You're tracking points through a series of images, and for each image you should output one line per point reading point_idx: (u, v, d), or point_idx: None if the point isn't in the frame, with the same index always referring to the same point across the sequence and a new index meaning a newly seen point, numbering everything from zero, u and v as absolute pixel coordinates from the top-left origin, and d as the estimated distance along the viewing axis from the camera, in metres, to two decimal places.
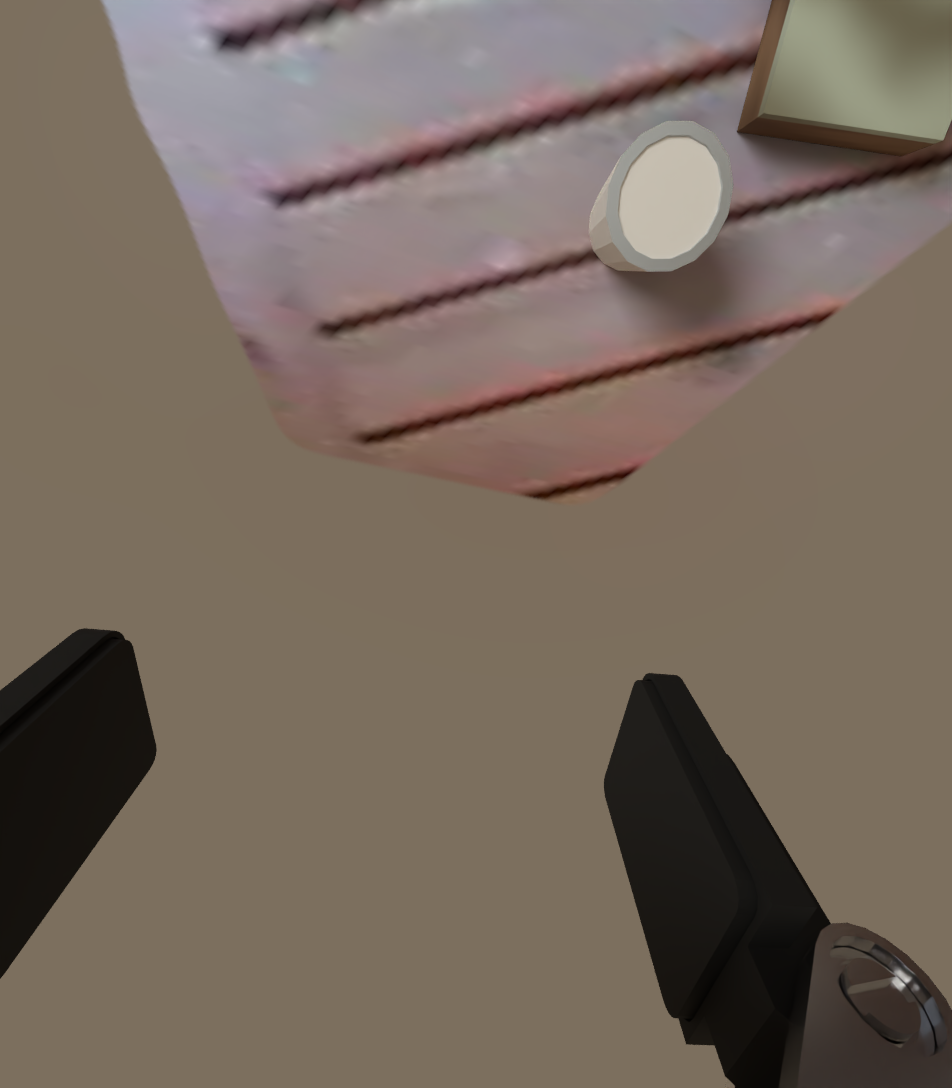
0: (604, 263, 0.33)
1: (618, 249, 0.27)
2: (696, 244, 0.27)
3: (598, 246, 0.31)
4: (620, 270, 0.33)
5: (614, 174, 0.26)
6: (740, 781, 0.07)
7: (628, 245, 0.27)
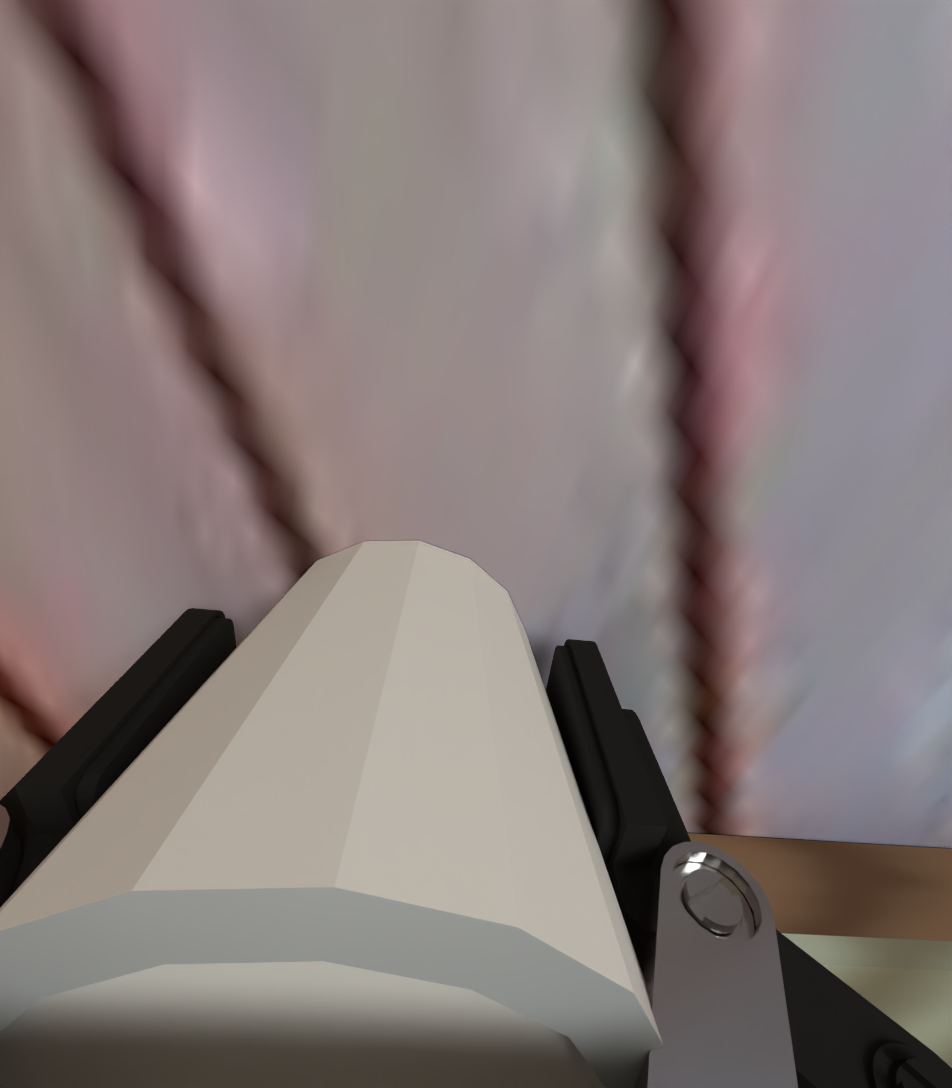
0: None
1: None
2: None
3: (273, 613, 0.08)
4: None
5: (410, 910, 0.03)
6: (627, 727, 0.07)
7: None
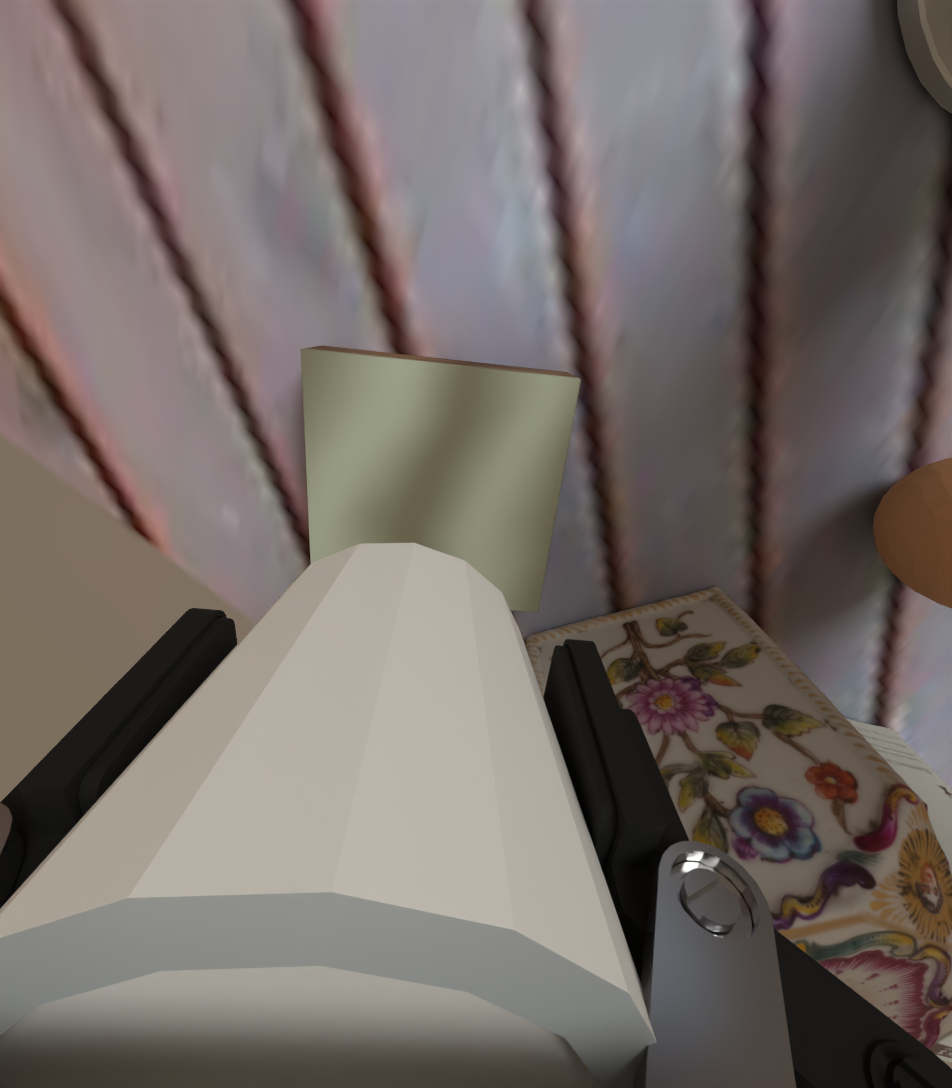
0: None
1: None
2: None
3: (268, 616, 0.08)
4: None
5: (407, 913, 0.03)
6: (625, 727, 0.07)
7: None
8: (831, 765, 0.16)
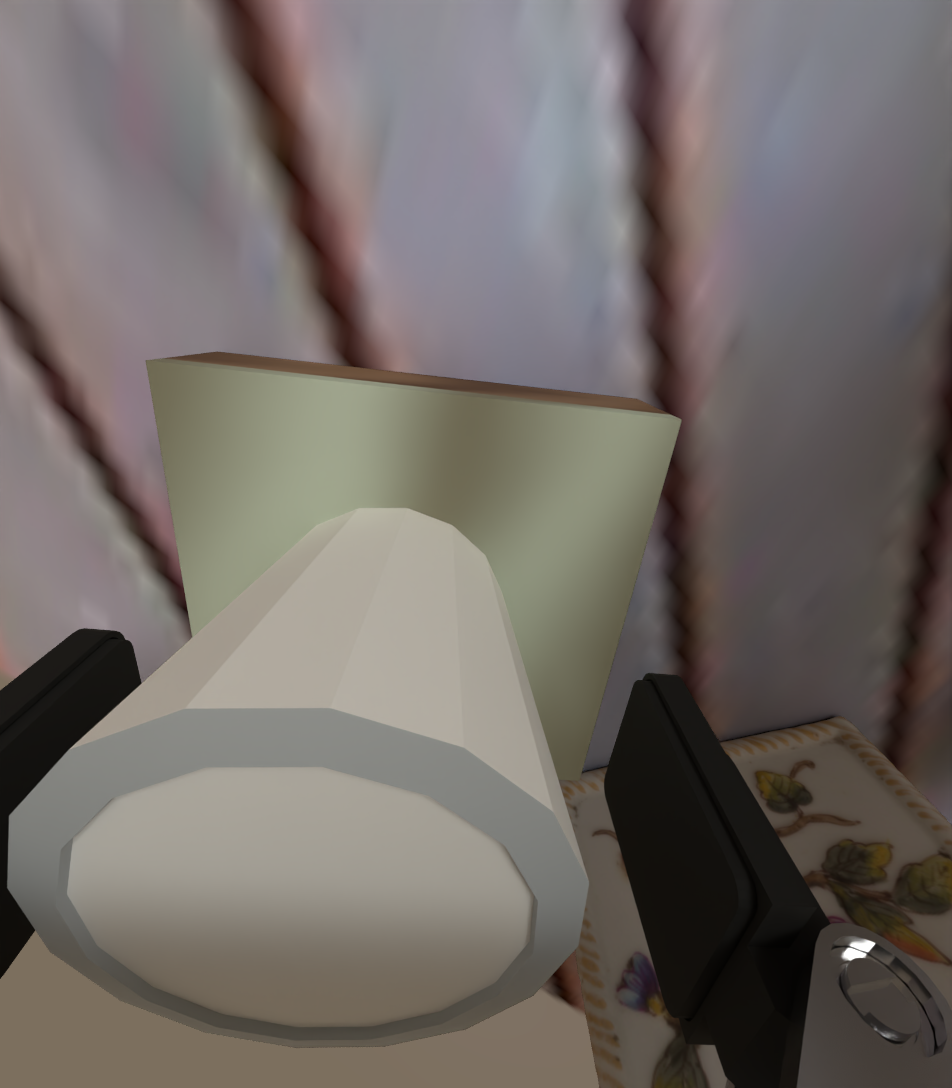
0: None
1: (50, 773, 0.05)
2: (174, 1003, 0.07)
3: (279, 561, 0.09)
4: None
5: (385, 729, 0.05)
6: (740, 781, 0.07)
7: (76, 818, 0.05)
8: None
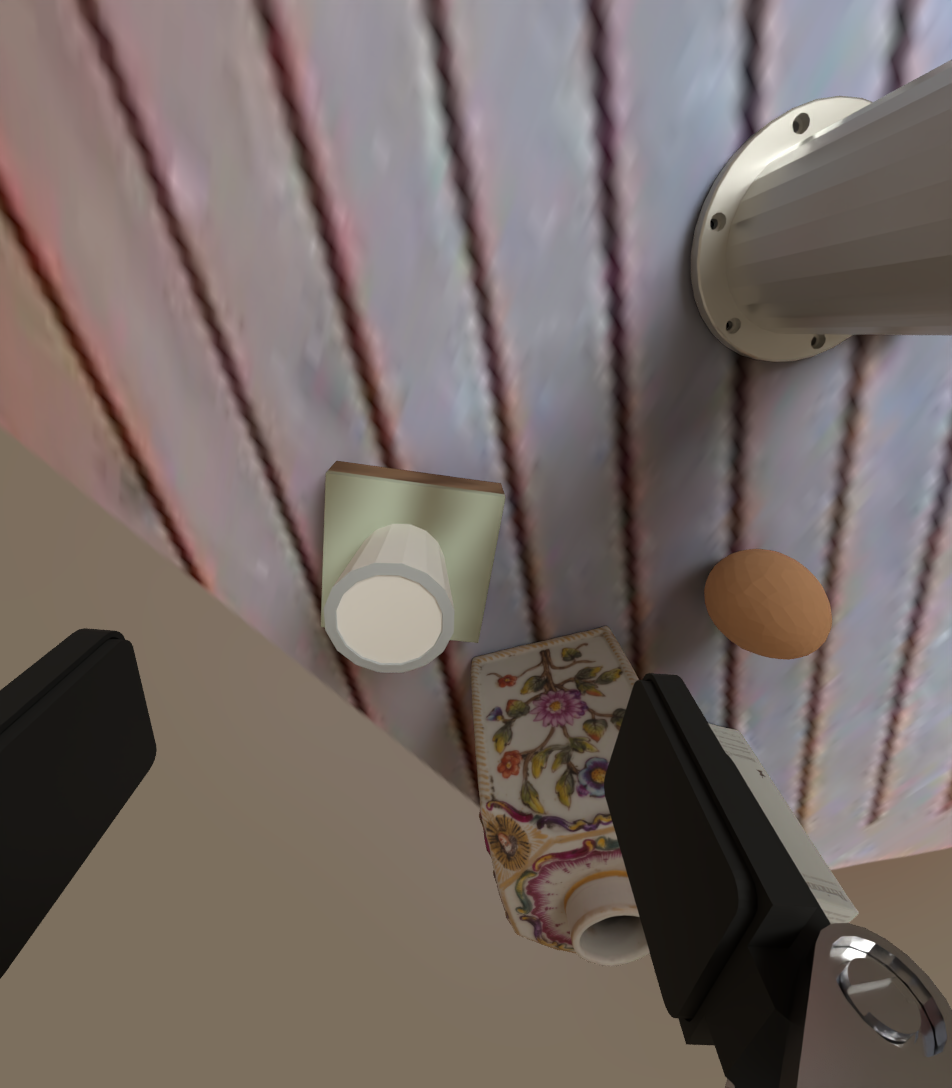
0: None
1: (343, 577, 0.24)
2: (351, 650, 0.26)
3: (370, 540, 0.28)
4: None
5: (412, 568, 0.24)
6: (740, 781, 0.07)
7: (347, 587, 0.24)
8: None
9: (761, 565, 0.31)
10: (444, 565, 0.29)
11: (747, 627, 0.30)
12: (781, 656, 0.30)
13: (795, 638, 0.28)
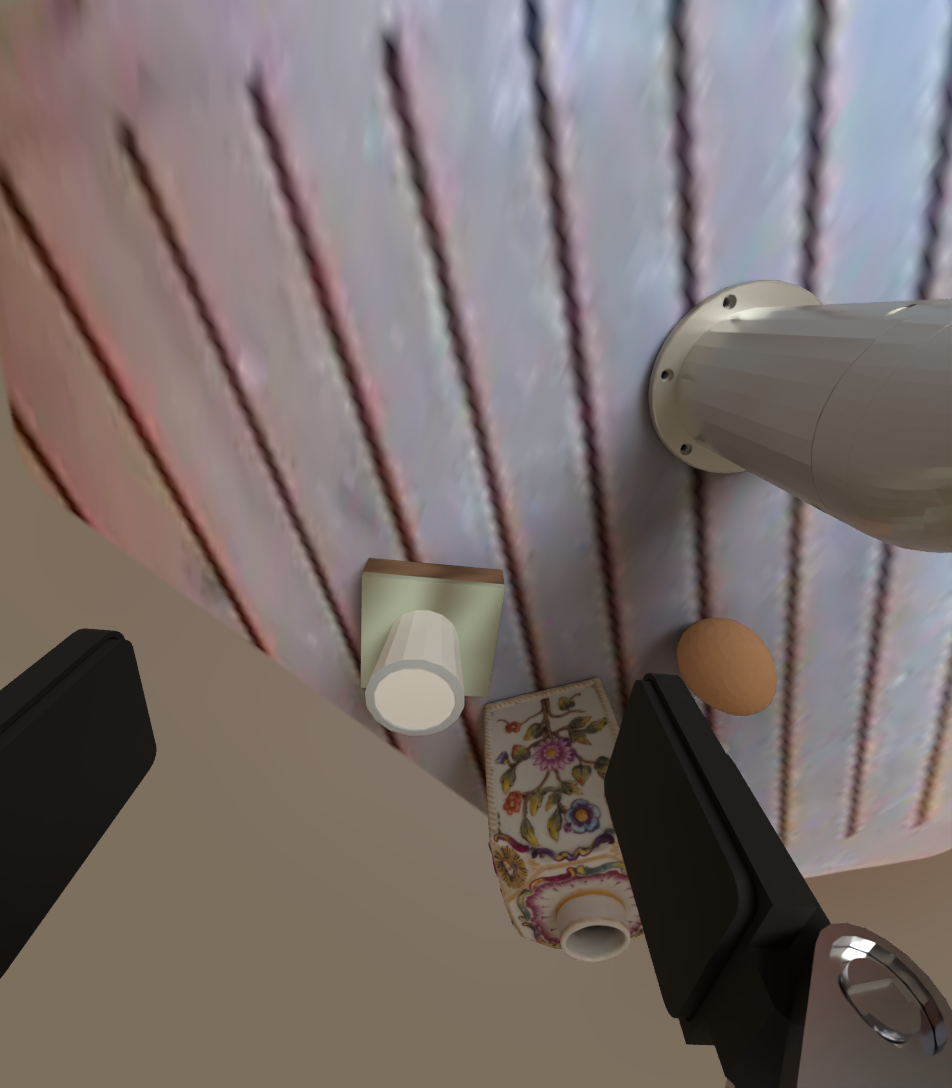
0: None
1: (379, 670, 0.32)
2: (386, 720, 0.34)
3: (398, 629, 0.36)
4: None
5: (430, 663, 0.32)
6: (740, 781, 0.07)
7: (382, 677, 0.32)
8: None
9: (718, 637, 0.37)
10: (457, 645, 0.37)
11: (706, 689, 0.37)
12: (734, 714, 0.36)
13: (742, 702, 0.35)
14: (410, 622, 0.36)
